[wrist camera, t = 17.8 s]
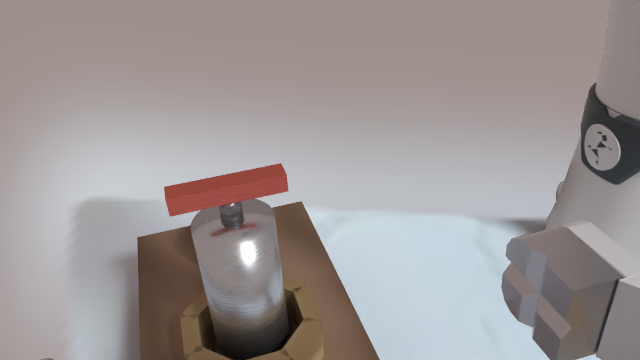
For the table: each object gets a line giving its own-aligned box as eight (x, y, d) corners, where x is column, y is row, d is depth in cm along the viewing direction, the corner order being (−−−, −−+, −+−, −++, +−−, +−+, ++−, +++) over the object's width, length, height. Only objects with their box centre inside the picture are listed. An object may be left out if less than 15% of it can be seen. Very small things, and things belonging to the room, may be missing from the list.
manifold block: (306, 254, 51) (298, 172, 46) (403, 474, 33) (407, 377, 28) (153, 291, 48) (128, 207, 43) (169, 555, 30) (129, 462, 25)
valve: (293, 311, 37) (273, 147, 30) (312, 366, 33) (295, 192, 26) (203, 334, 36) (162, 169, 29) (213, 395, 32) (167, 220, 25)
